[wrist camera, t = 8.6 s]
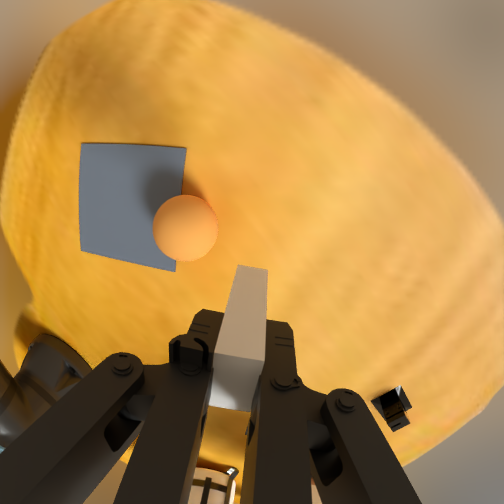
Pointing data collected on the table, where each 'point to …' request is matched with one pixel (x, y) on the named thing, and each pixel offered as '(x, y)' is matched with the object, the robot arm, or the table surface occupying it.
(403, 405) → the black recessed block
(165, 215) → the ball
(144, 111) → the table surface
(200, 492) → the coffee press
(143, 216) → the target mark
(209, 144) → the table surface
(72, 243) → the table surface
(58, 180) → the table surface
